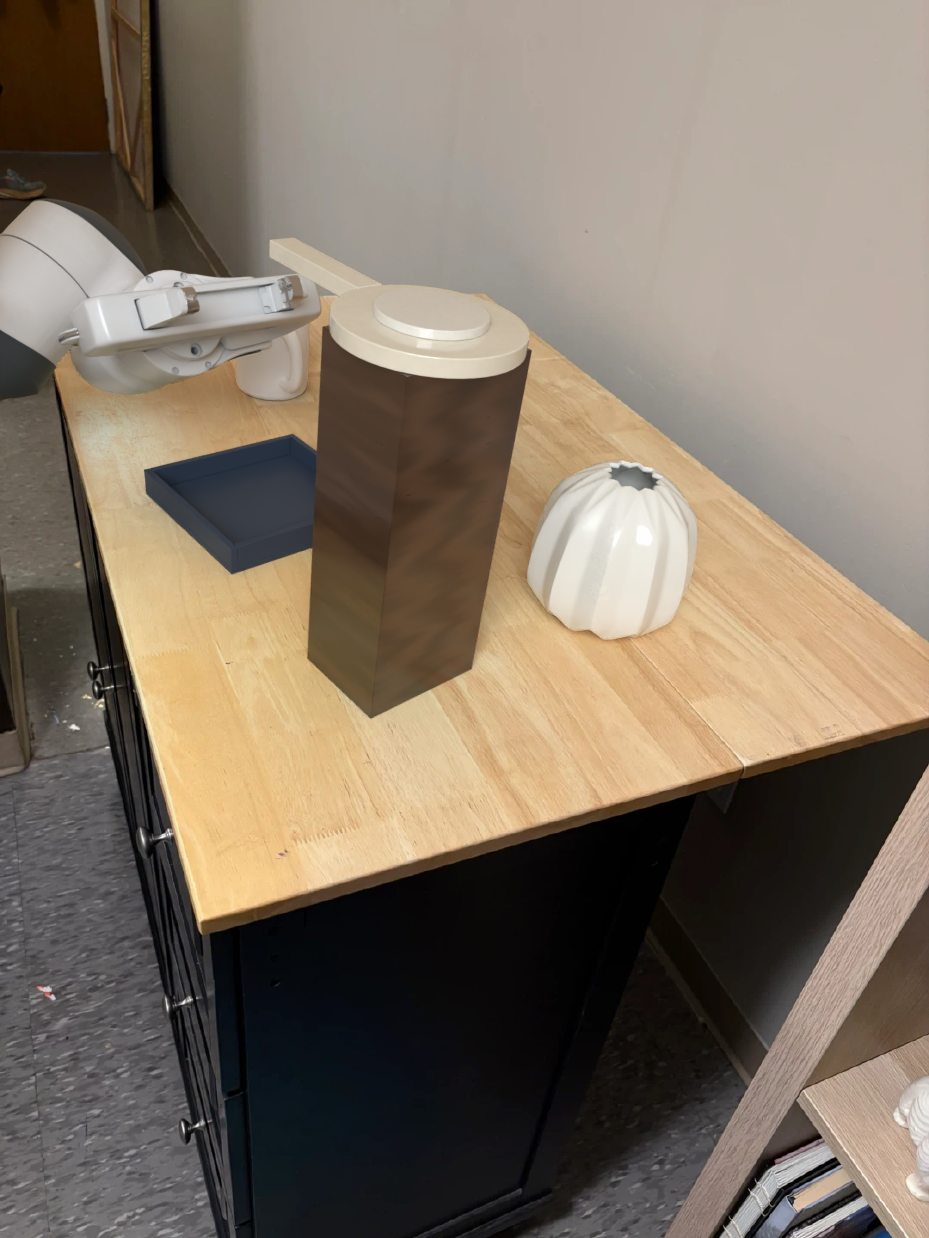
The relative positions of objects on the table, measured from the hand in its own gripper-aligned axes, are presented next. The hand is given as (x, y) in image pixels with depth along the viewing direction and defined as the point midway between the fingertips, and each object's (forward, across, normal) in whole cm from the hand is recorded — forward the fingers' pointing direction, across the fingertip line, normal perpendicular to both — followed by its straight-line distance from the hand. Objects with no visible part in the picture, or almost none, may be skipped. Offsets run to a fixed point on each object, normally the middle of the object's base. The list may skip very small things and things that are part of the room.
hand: (246, 292), depth 68 cm
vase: (+10, +20, +31) cm, 39 cm away
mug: (-32, +19, +7) cm, 38 cm away
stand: (+7, 0, +29) cm, 30 cm away
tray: (-14, +4, +17) cm, 23 cm away
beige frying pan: (+15, 0, +4) cm, 16 cm away
